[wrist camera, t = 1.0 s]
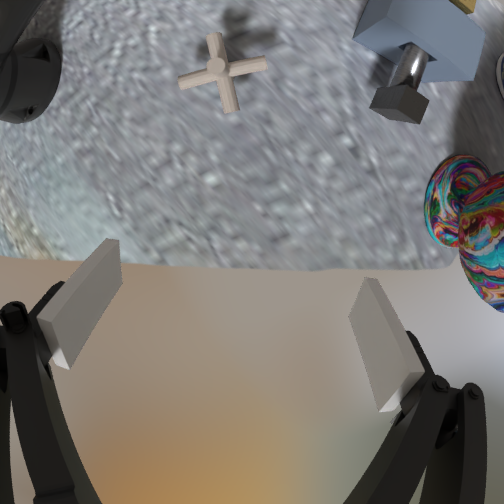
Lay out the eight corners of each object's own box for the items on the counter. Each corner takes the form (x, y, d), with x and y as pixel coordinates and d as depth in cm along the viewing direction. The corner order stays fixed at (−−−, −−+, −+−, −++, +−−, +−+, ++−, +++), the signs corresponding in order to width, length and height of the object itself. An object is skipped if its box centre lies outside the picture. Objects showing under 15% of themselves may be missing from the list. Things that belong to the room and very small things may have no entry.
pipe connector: (182, 54, 31) (157, 38, 22) (257, 35, 30) (255, 12, 21) (199, 120, 35) (178, 124, 26) (273, 104, 34) (277, 101, 25)
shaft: (369, 108, 30) (396, 109, 23) (417, -18, 20) (445, -35, 13) (389, 119, 30) (419, 124, 23) (435, -6, 20) (465, -20, 13)
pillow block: (352, 39, 29) (386, 16, 18) (368, -1, 25) (403, -31, 15) (423, 82, 31) (473, 80, 20) (437, 43, 27) (485, 32, 16)
